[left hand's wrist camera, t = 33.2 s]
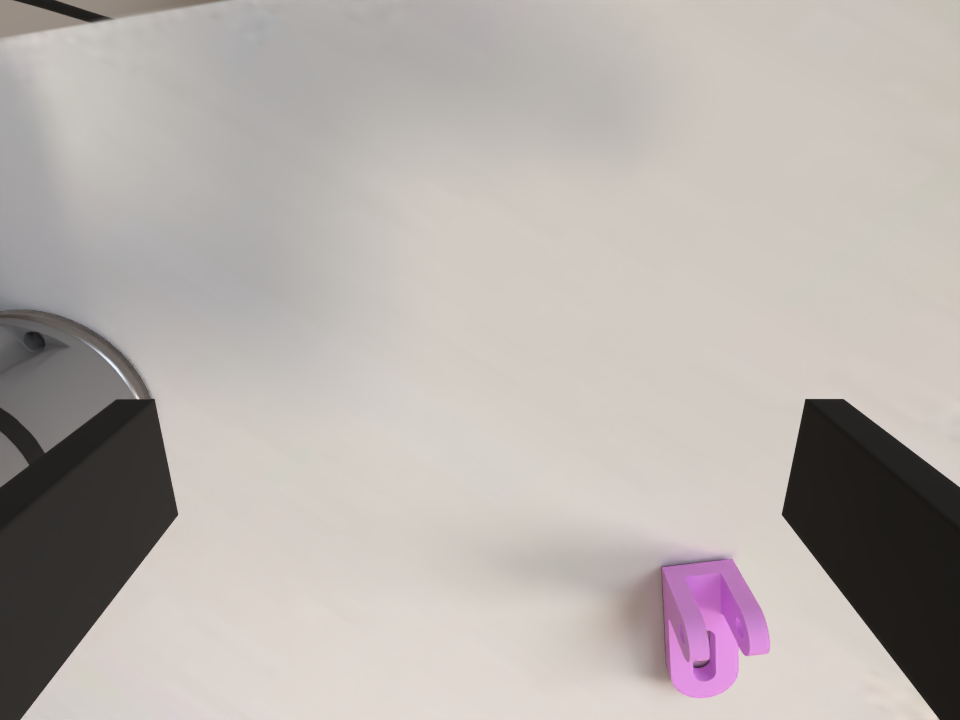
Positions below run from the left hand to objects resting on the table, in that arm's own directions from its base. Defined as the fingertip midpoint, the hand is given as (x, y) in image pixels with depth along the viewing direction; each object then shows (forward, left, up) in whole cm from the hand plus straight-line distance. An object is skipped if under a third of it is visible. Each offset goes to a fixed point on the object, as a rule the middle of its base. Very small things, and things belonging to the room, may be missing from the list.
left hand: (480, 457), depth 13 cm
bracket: (+37, +2, -29) cm, 48 cm away
